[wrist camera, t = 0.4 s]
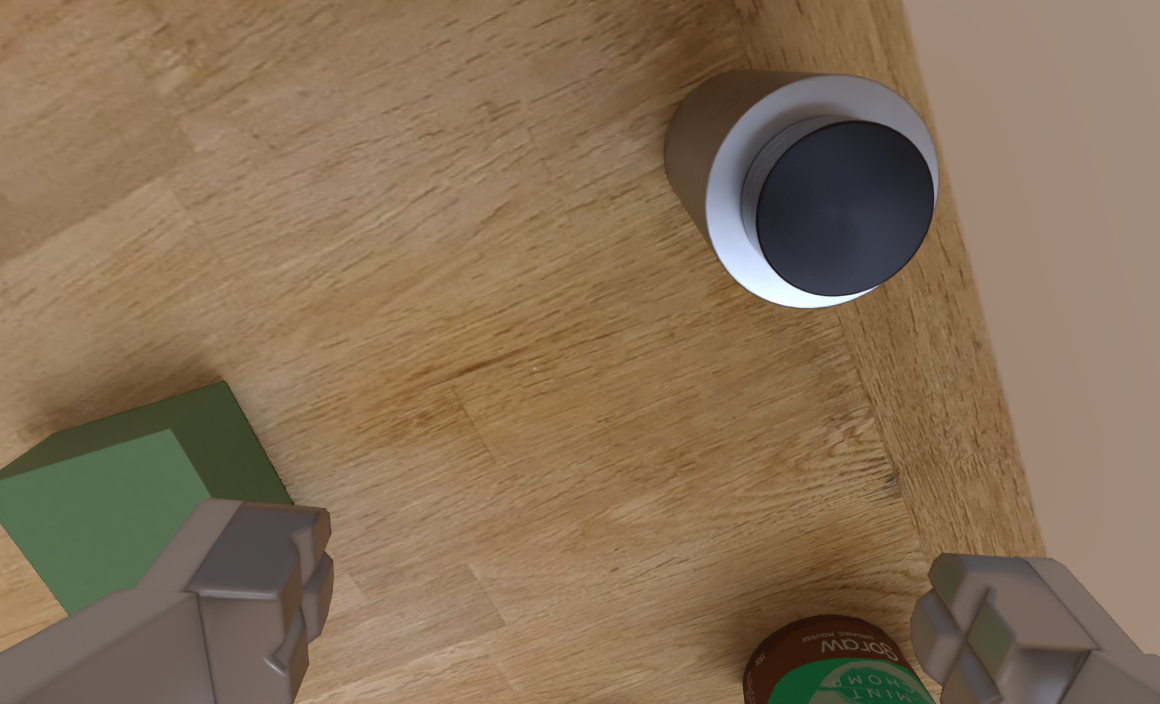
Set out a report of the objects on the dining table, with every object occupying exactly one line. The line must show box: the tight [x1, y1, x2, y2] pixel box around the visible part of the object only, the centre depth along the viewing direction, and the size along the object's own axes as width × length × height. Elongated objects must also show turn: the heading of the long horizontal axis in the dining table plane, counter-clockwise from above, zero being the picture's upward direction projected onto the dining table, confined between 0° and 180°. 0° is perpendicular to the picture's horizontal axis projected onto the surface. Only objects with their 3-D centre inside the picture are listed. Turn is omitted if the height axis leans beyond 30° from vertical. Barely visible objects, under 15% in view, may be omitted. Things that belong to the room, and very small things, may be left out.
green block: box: [0, 381, 293, 616], centre depth 35 cm, size 10×10×5 cm
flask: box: [664, 70, 940, 309], centre depth 24 cm, size 6×6×14 cm
